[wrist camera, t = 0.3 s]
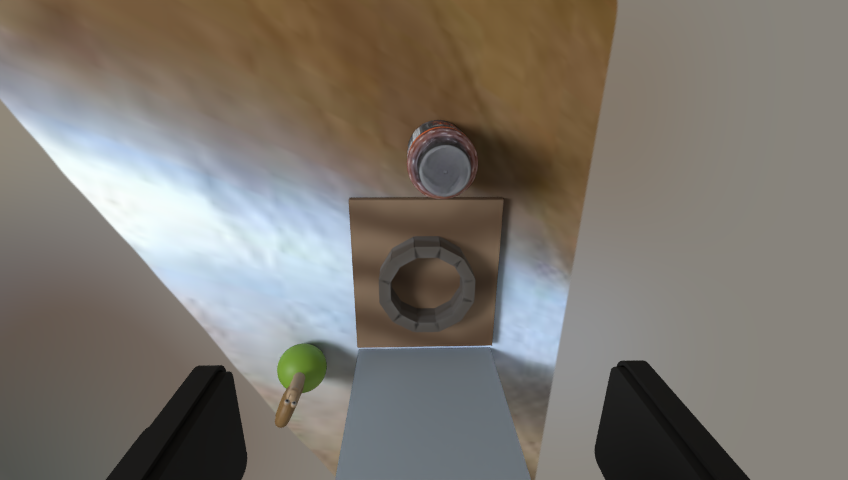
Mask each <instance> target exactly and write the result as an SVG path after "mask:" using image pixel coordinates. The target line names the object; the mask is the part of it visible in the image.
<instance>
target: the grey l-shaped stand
mask: <svg viewBox="0 0 848 480" xmlns="http://www.w3.org/2000/svg"><path fill="white" fill-rule="evenodd" d="M336 480H531V478H530V475H529V472H528V469H527V465H526V462H525V459H524V456H523V453H522V449H521V446H520V443H519V440H518V436H517V433H516V430H515V427H514V424H513V420H512V417H511V414H510V411H509V407H508V404H507V401H506V398H505V395H504V391H503V388H502V385H501V382H500V378H499V375H498V372H497V369H496V366H495V362H494V359H493V356H492V353H491V349H490V347H481V348H420V349H359V352H358V357H357V363H356V368H355V374H354V379H353V385H352V390H351V396H350V401H349V407H348V413H347V418H346V424H345V429H344V435H343V440H342V446H341V451H340V457H339V462H338V468H337V473H336Z"/></svg>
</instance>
